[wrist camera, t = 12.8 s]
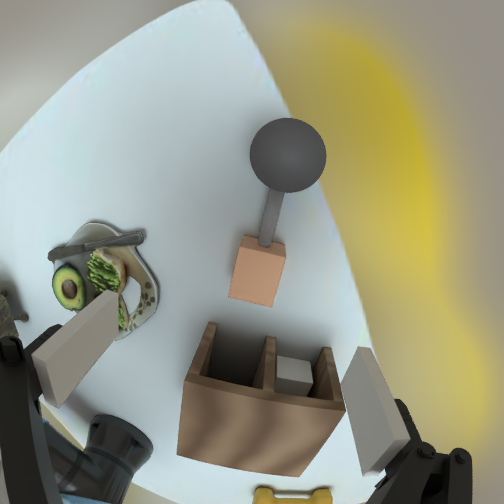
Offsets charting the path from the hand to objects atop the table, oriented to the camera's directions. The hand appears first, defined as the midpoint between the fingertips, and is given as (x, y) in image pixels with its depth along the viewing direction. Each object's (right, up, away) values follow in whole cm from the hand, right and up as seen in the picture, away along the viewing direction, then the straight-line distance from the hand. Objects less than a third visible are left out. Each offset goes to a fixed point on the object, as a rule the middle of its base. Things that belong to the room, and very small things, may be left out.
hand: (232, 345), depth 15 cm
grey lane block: (+6, -13, +27) cm, 30 cm away
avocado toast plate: (-21, 0, +25) cm, 33 cm away
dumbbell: (+11, -54, +39) cm, 68 cm away
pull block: (+3, +10, +20) cm, 22 cm away
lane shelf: (+2, -14, +27) cm, 31 cm away
